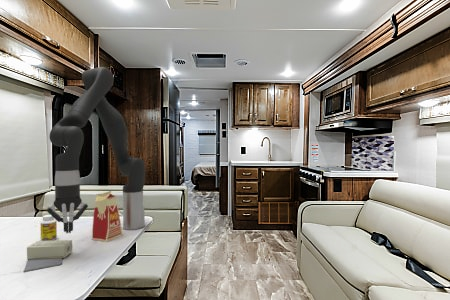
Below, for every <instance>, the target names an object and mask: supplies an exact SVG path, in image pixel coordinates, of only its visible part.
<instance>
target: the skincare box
mask: <svg viewBox="0 0 450 300" xmlns="http://www.w3.org/2000/svg"><path fill="white" fill-rule="evenodd" d="M71 252H73V239H63V240H60V239H59V240H53V241H41V240H39V241H38V240H37V241H35V242H34V243H32V244H29V245H28V246H27V247H26V260H28V259H47V258H62V259H63V258H66V257H67V256H69V254H71Z"/></svg>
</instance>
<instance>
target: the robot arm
mask: <svg viewBox="0 0 450 300" xmlns="http://www.w3.org/2000/svg"><path fill="white" fill-rule="evenodd" d="M114 79H115V78H114V75H113V73H112V71H111V69H109V68H108V67H106V66H99V67H94V68H91V69H87V70H84V71H82V74H81V80H82V84H83V86H84V88H85V92H84V93H83V94H82V95H81V96H79V98H77V99H76V100H75V101H74V102H73V104H72V105H71V107H70V109H69V110H68V111H67V114H66V115H65V116H64V117H62V118H61V119H60V120H59V121H57V123H56V124H55V125H54V126H53V127H52V128H51V130H50V132H49V137H48V138H49V141H50V143H51V144H52V145H53V146H56V147H66V149H65V152H63V153H58V154H57V155H56V156H55V175H54V199H55V200H53V204H52V205H50V206H48V207H47V209H46V212H47V213H48V215H51V216H52V217H54V219H56V221H57V222H58V223H62V224H63V232H64V233H65V234H71V233H72V232H73V230H74V222H75V221H77V220H79V219H80V217H81V216H82V215H83V214H84V213H85V211H86V210H87V209H88V207H89V205H88V203H85V202H83V200H82V198H81V178H80V177H81V176H80V175H81V174H80V170H79V169H80V163H79V162H80V156H81V151H82V147H83V144H84V142H85V141H84V139H85V136H84V132H83V130H82V129H81V128H84V127H85V126H86V125H87V123H88V122H89V119H90V117H91V115H92V113H93V112H94V110H96V113H97V114H98V117H99V118H100V119H99V120H100V122H101V124H102V128H103V130H104V132H105V134H106V136H107V138H108V141H109V144H110V145H111V148H112V149H111V150H112V151H113V154H114V157H115V161H116V165H117V167H118V170H119V173H120V174H121V175H122V176H123V177H127V178H128V183H126V184H124V185H123V186H122V227H123V229H124V230H131V231H133V230H138V229H141V228H145V226H146V224H145V221H146V219H145V217H146V216H145V206H144V186H145V183H146V182H145V181H146V164H145V162H144V160H143V159H142V158H141V157H140V158H139V157H132V156H131V155H130V153H129V150H128V146H127V144H128V143H127V142H128V135H129V133H128V132H129V131H128V127H127V125H126V122H125V119H124V117H123V115H122V114H121V113H120V111H119V110H117V109H116V108H115V107H114V106H113V105H111V104H110V103H109V102H108V100H107V99H106V97H105V96H106V94H107V93H108V92H109V90H111V88H112V87H113V85H114V82H115V80H114ZM78 208H80V209H79V210H78V211H77V213H76V214H75V215H74V212H76V210H77V209H78ZM56 209H57V210H58V211H59V213H62V216H61V215H59V214H58V213H57V212H56V211H57V210H56ZM68 214H69V215H68Z"/></svg>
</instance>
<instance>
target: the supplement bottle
mask: <svg viewBox="0 0 450 300" xmlns="http://www.w3.org/2000/svg"><path fill="white" fill-rule="evenodd" d="M57 222H58V221H57V220H56V219H55V218H54V217H52V216H51V215H50V214H46V215H43V216H42V220H41V221H40V241H56V239H57V234H58V233H57V232H58V231H57V227H58V226H57Z"/></svg>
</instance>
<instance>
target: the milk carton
mask: <svg viewBox="0 0 450 300" xmlns="http://www.w3.org/2000/svg"><path fill="white" fill-rule="evenodd" d="M120 217H121V216H120V212H119V206H118V202H117V198H116V195H114V194H112V190H109V191H107V192H102V193H96V199H95V201H94V208H93V218H92V219H93V220H92V229H91V230H92V233H91V240H93V241H99V242H105V243H107V242H110V241H113V240H115V239H117V238H119V237H122V236H124V235H123V234H124V233H123V229H122V223H121V218H120Z"/></svg>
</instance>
